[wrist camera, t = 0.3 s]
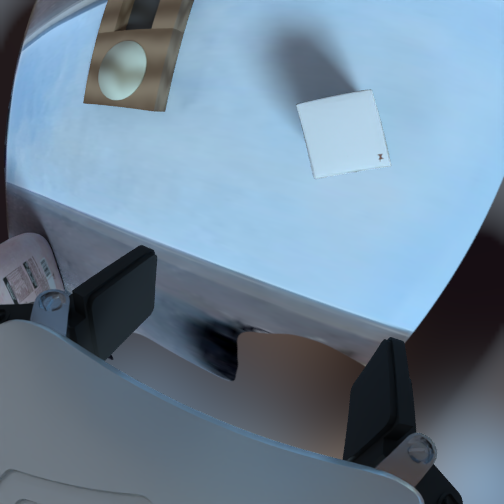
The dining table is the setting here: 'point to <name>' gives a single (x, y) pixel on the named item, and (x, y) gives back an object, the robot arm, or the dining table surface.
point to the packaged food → (27, 269)
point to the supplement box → (343, 134)
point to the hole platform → (136, 53)
